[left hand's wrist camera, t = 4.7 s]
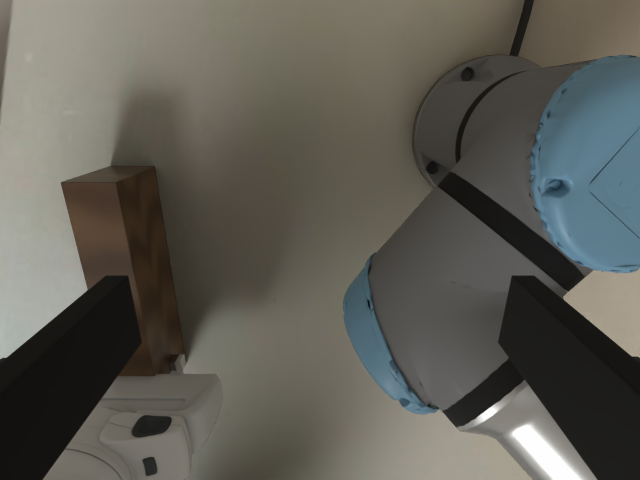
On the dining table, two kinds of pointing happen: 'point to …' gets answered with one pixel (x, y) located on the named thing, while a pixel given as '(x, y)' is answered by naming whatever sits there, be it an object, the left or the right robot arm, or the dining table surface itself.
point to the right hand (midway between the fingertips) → (154, 358)
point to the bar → (129, 254)
